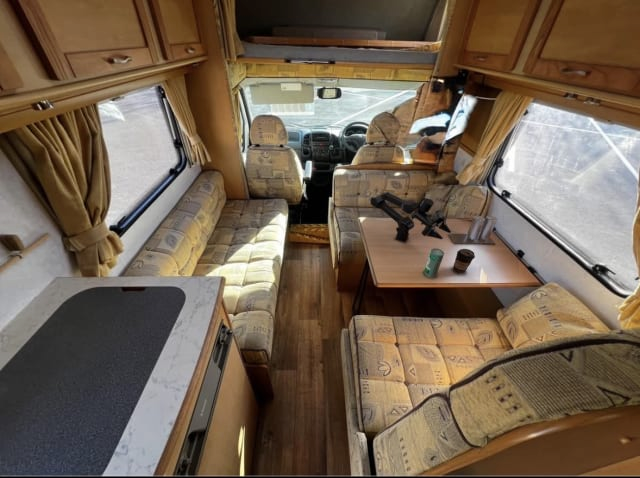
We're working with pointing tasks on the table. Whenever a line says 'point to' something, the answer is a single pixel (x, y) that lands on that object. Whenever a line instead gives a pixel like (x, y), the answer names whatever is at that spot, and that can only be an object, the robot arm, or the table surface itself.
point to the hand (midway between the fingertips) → (446, 235)
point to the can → (433, 263)
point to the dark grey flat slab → (462, 240)
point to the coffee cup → (463, 260)
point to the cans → (485, 228)
